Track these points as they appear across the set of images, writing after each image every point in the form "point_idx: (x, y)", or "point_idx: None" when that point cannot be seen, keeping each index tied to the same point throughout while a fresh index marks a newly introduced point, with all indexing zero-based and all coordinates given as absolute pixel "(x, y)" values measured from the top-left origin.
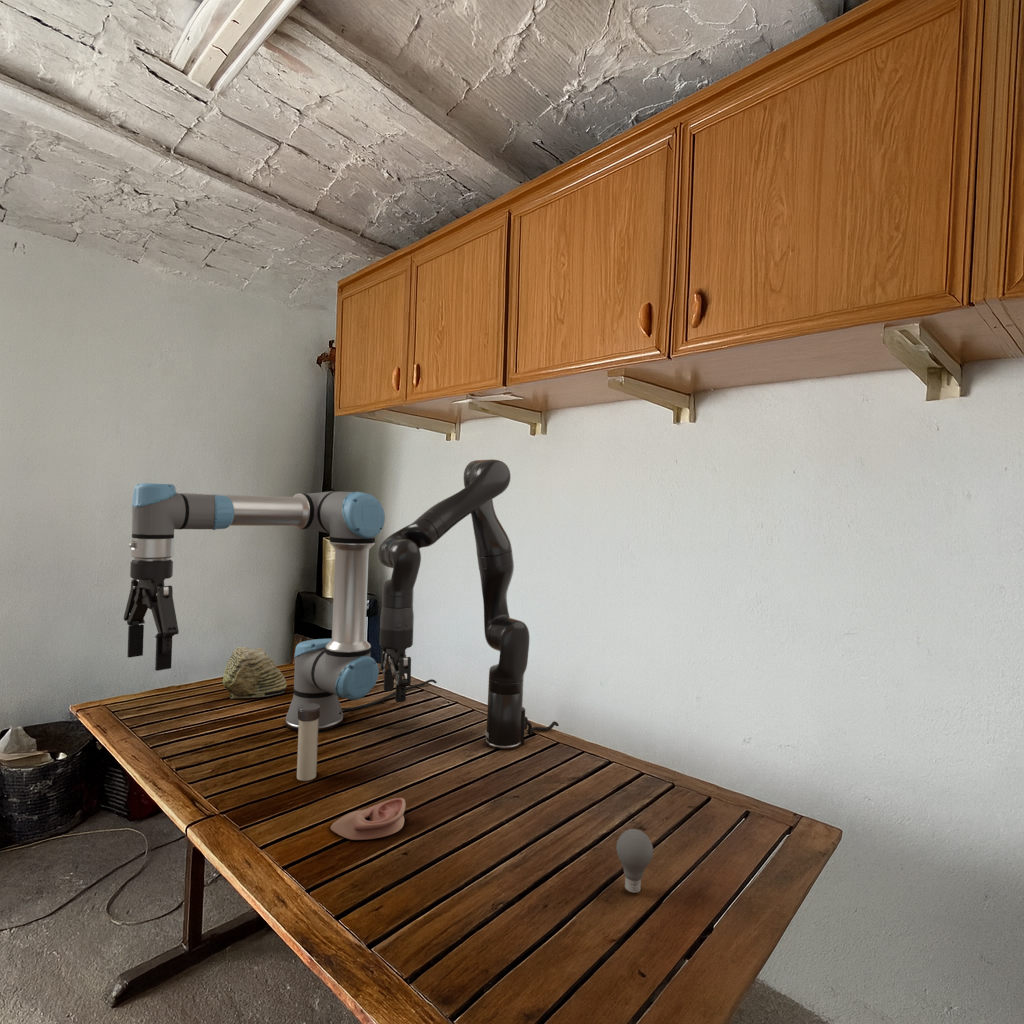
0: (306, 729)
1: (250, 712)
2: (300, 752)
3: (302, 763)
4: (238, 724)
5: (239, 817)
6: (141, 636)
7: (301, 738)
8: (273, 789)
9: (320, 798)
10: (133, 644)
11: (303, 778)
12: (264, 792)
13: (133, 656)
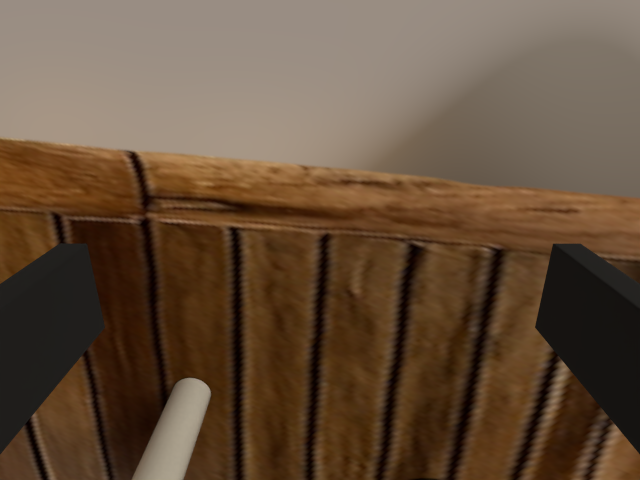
0: (136, 471)
1: (585, 474)
2: (168, 420)
3: (169, 404)
4: (543, 430)
5: (105, 235)
6: (628, 422)
7: (155, 447)
8: (180, 330)
9: (89, 365)
10: (605, 321)
11: (177, 384)
12: (179, 313)
13: (548, 274)
